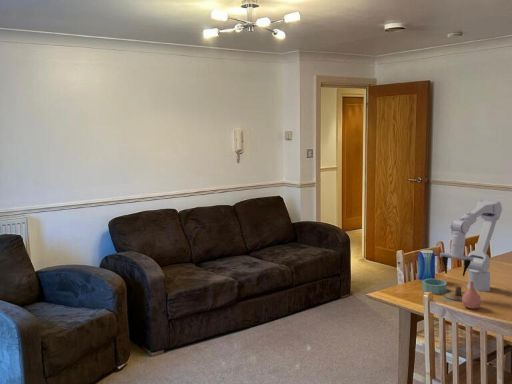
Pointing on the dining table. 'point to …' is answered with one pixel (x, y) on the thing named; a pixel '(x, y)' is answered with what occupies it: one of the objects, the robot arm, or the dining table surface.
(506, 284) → the dining table surface
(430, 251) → the beer can
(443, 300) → the mat
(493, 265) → the dining table surface
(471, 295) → the perfume bottle
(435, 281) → the bowl
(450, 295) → the lid
